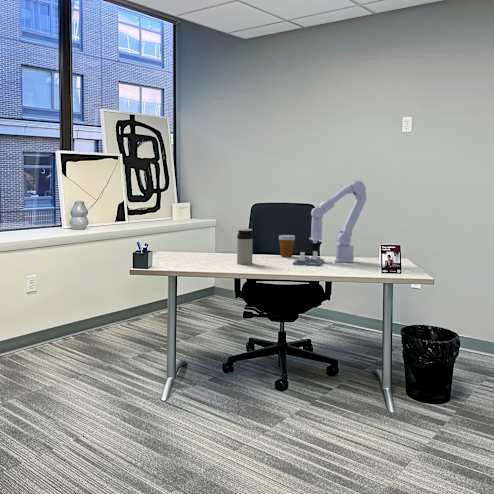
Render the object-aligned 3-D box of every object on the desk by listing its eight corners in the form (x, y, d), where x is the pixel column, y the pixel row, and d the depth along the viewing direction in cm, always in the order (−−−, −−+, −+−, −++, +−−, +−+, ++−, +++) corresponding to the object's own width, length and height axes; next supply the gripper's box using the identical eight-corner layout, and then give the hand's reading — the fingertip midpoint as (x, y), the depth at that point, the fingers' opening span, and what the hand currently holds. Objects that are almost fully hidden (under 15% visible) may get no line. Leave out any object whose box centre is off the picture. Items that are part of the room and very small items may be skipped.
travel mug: (250, 265, 289) (251, 230, 286) (235, 264, 290) (235, 229, 288) (253, 262, 296) (254, 228, 294) (238, 262, 298) (239, 228, 296)
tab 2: (317, 259, 301) (317, 251, 301) (316, 260, 297) (317, 252, 297) (313, 258, 302) (313, 251, 301) (312, 260, 298) (312, 252, 297)
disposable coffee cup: (274, 256, 320) (275, 235, 319) (287, 255, 326) (287, 234, 324) (285, 258, 313) (286, 237, 311) (298, 257, 318) (298, 236, 317)
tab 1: (305, 260, 297) (305, 252, 296) (304, 261, 293) (304, 253, 292) (300, 260, 297) (300, 252, 297) (299, 261, 294) (299, 253, 293)
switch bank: (323, 261, 305) (323, 256, 304) (320, 266, 287) (320, 261, 287) (297, 259, 308) (298, 255, 308) (292, 264, 291) (293, 260, 290)
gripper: (310, 228, 309) (310, 252, 311) (307, 231, 295) (306, 256, 297) (323, 228, 308) (323, 253, 310) (320, 231, 294) (320, 257, 296)
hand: (315, 255), depth 303 cm, fingers closed
